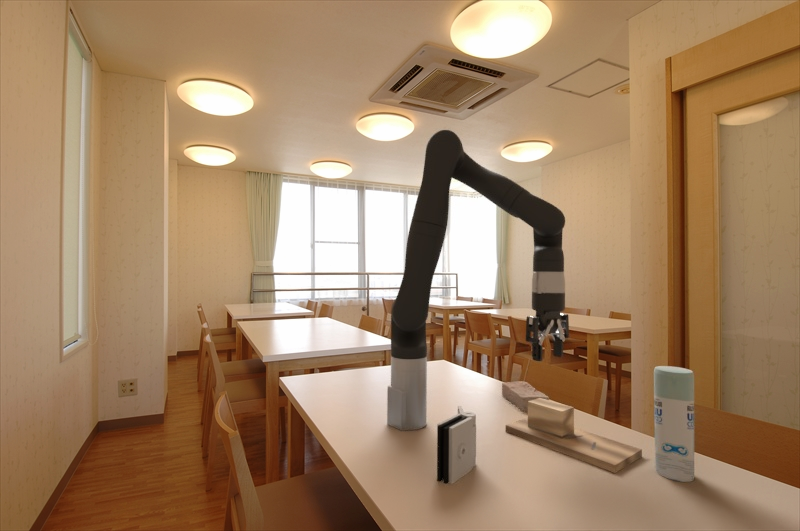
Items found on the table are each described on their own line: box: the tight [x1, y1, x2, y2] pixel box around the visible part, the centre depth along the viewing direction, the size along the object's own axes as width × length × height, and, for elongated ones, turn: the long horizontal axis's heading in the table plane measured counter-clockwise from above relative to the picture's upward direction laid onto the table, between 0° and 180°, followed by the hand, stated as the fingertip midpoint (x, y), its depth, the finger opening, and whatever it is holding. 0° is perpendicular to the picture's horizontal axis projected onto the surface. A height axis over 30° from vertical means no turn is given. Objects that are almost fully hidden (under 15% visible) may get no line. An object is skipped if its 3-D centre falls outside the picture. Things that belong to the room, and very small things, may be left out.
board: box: [505, 417, 643, 474], centre depth 92 cm, size 12×26×2 cm, turn 37°
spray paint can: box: [653, 365, 695, 483], centre depth 78 cm, size 6×6×20 cm
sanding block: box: [527, 398, 575, 438], centre depth 96 cm, size 5×9×6 cm, turn 37°
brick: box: [501, 380, 550, 413], centre depth 122 cm, size 17×8×5 cm, turn 7°
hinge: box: [436, 405, 477, 485], centre depth 80 cm, size 14×5×10 cm, turn 153°
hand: (548, 358), depth 97 cm, fingers open, 8 cm apart
